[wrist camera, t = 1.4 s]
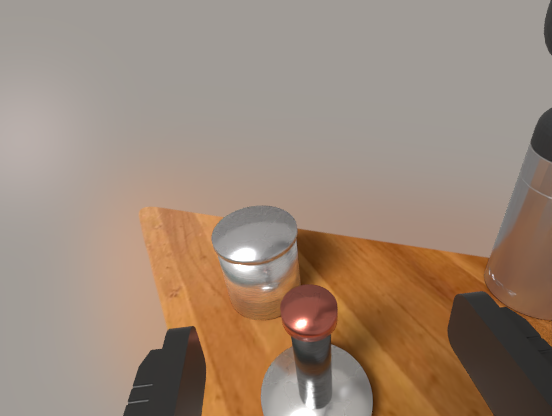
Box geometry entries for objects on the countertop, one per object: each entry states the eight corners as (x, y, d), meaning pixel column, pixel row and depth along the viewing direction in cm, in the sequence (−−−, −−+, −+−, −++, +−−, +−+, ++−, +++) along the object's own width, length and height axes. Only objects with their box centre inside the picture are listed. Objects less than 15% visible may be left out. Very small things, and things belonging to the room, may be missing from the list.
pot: (294, 257, 46) (288, 199, 41) (310, 312, 39) (305, 250, 33) (227, 270, 46) (211, 213, 40) (229, 328, 38) (211, 268, 33)
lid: (350, 340, 36) (353, 247, 28) (391, 447, 27) (410, 357, 20) (257, 359, 35) (234, 269, 27) (270, 475, 27) (243, 392, 19)
